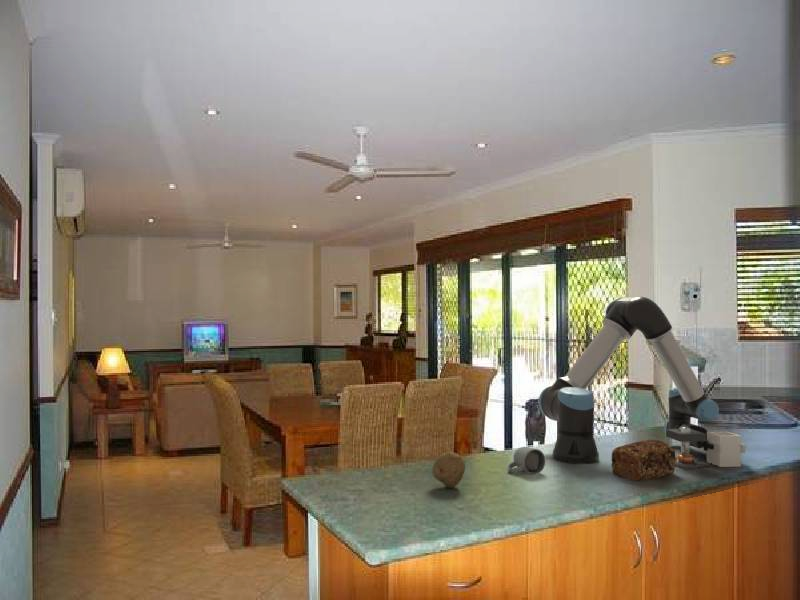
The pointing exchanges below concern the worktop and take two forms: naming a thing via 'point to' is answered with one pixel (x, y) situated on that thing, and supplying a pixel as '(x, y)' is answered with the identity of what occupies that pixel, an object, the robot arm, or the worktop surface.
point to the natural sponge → (449, 469)
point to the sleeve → (725, 449)
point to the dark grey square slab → (685, 435)
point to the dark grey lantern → (687, 455)
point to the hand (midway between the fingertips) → (732, 448)
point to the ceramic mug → (527, 461)
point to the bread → (643, 460)
